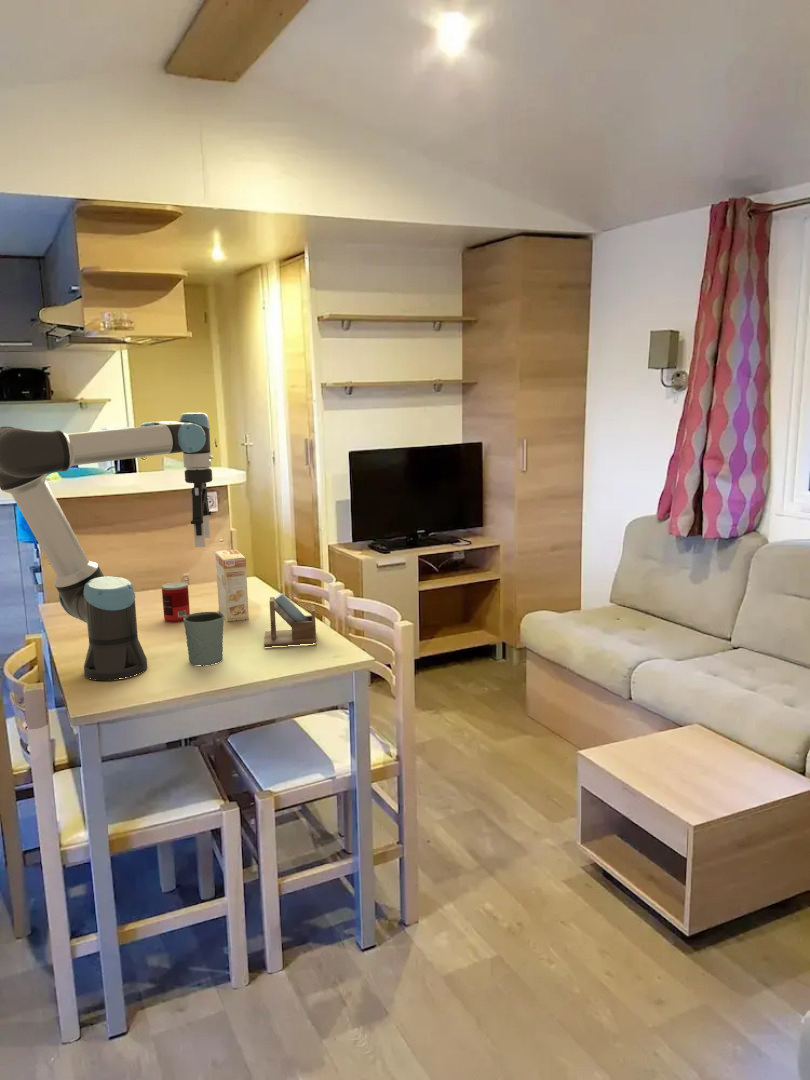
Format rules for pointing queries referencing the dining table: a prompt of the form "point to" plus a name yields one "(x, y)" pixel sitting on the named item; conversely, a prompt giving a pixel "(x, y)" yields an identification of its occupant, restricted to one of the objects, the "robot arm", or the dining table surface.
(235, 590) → the coffeecake box
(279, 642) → the socket cradle
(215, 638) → the grey-green cup
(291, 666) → the dining table surface
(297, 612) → the peg
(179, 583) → the canned food
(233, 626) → the dining table surface
